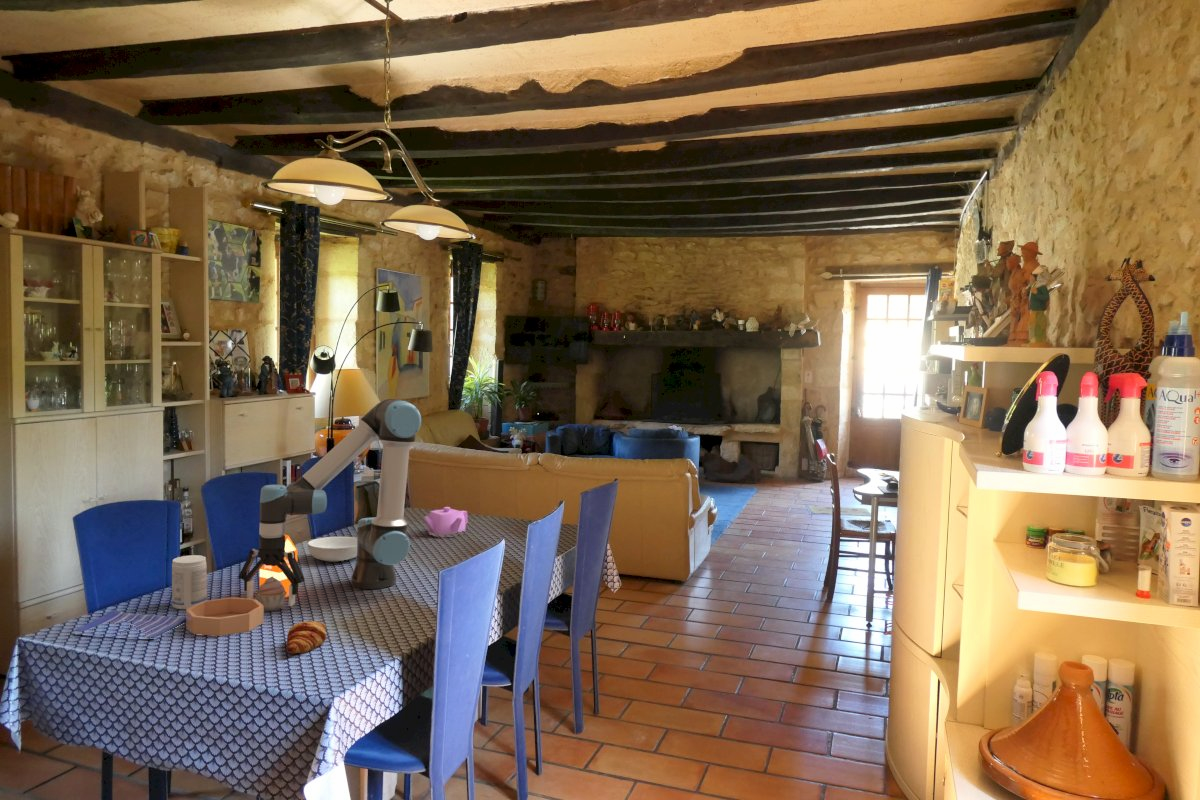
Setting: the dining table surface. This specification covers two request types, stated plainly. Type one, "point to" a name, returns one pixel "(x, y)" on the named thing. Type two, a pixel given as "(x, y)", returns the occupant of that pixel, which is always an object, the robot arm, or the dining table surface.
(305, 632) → the croissant
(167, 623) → the dish towel
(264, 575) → the orange juice
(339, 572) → the dining table surface
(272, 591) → the cupcake
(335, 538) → the serving bowl
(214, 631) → the bowl
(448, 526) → the teakettle
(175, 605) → the supplement tub
